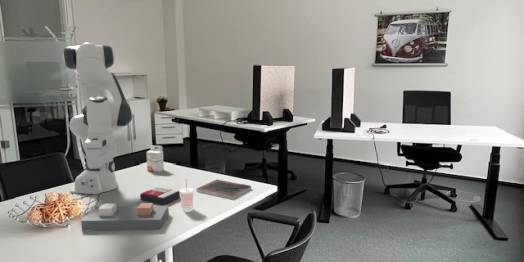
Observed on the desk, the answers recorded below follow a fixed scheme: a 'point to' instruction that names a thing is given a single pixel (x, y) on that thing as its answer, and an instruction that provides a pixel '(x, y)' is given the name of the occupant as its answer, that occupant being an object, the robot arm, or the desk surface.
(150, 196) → the calculator
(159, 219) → the console
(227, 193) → the picture frame
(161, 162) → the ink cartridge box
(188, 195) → the beverage cup
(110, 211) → the key white
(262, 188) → the desk surface
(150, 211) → the key terracotta
